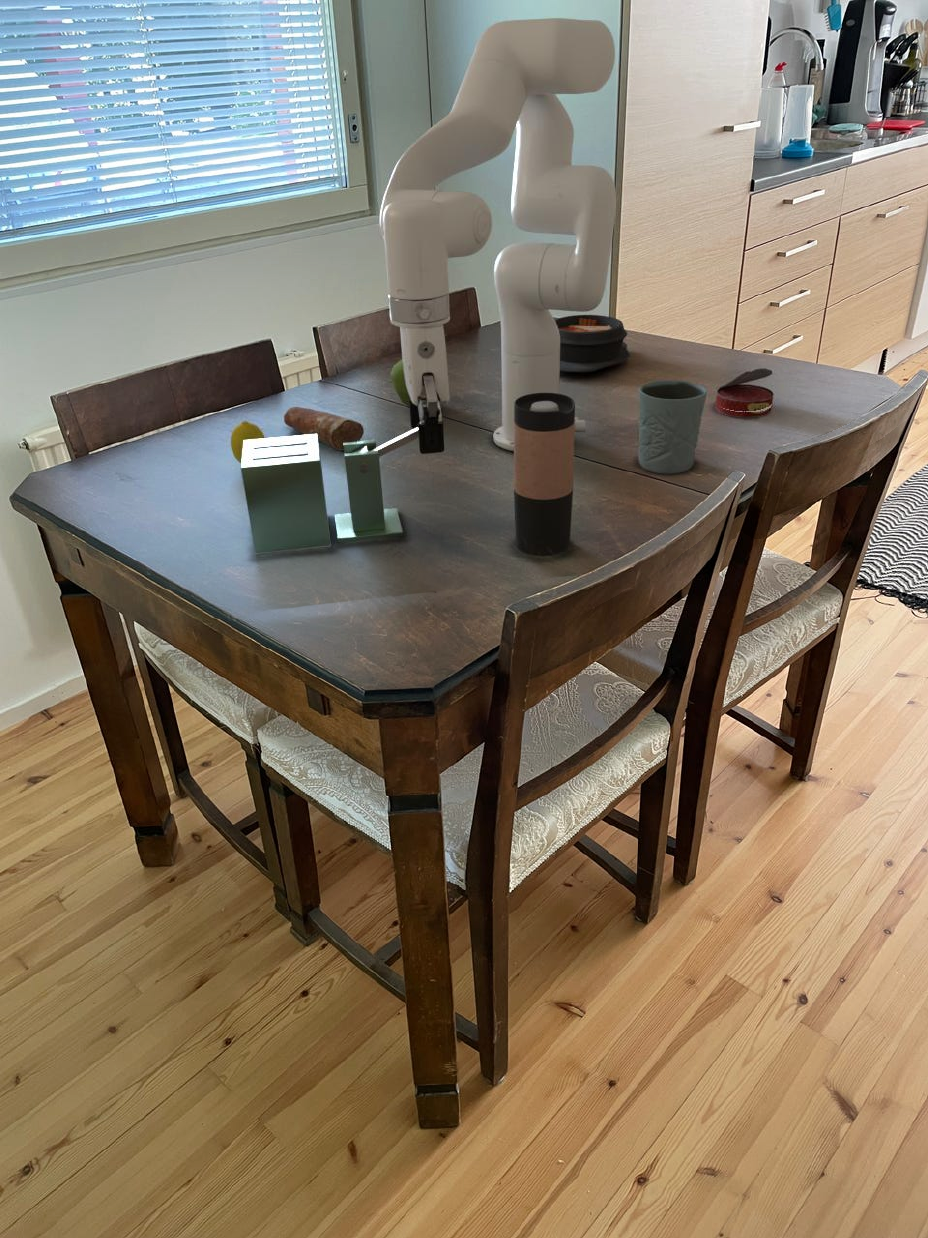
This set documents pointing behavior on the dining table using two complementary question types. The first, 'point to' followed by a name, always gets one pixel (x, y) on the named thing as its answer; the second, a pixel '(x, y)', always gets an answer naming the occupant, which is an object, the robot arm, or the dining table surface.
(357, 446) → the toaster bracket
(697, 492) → the dining table surface
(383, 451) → the lever
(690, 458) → the green embossed cup
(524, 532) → the travel mug
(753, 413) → the canned food
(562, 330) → the casserole
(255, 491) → the toaster
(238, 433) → the lemon
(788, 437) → the dining table surface
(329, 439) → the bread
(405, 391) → the apple
